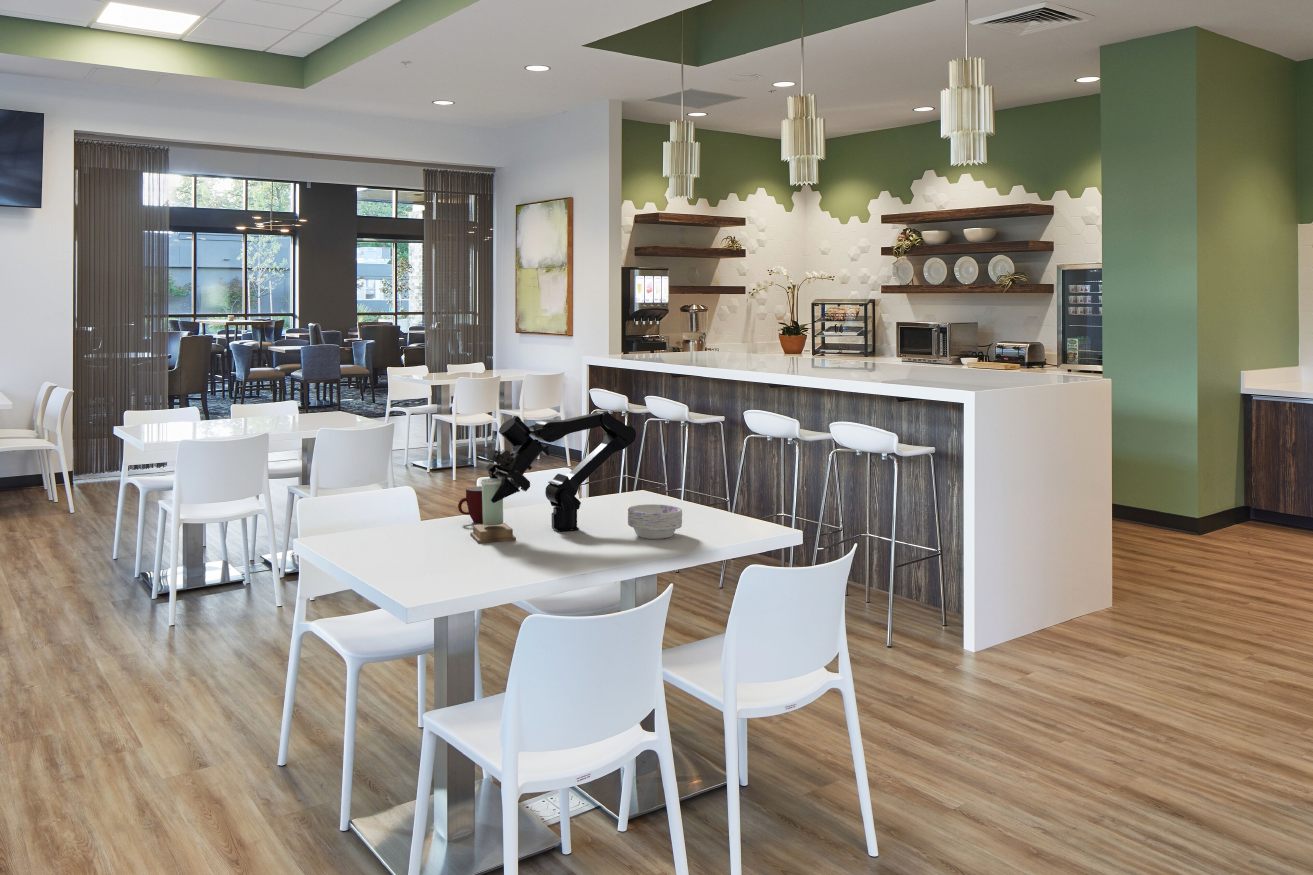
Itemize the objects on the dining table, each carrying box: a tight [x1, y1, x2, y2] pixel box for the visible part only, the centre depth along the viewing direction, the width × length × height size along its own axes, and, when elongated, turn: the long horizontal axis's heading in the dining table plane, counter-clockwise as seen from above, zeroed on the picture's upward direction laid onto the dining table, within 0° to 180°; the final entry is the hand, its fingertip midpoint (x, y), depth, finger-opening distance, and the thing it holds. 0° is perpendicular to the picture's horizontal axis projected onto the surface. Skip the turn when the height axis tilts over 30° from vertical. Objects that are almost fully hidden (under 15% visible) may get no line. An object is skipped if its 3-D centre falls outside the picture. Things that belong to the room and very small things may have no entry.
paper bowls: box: [627, 503, 683, 540], centre depth 278 cm, size 15×15×8 cm
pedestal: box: [470, 522, 517, 544], centre depth 275 cm, size 10×10×3 cm
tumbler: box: [480, 477, 504, 525], centre depth 274 cm, size 6×6×12 cm
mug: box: [457, 485, 483, 524], centre depth 294 cm, size 11×8×10 cm
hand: (487, 500), depth 273 cm, fingers closed on tumbler, 5 cm apart
